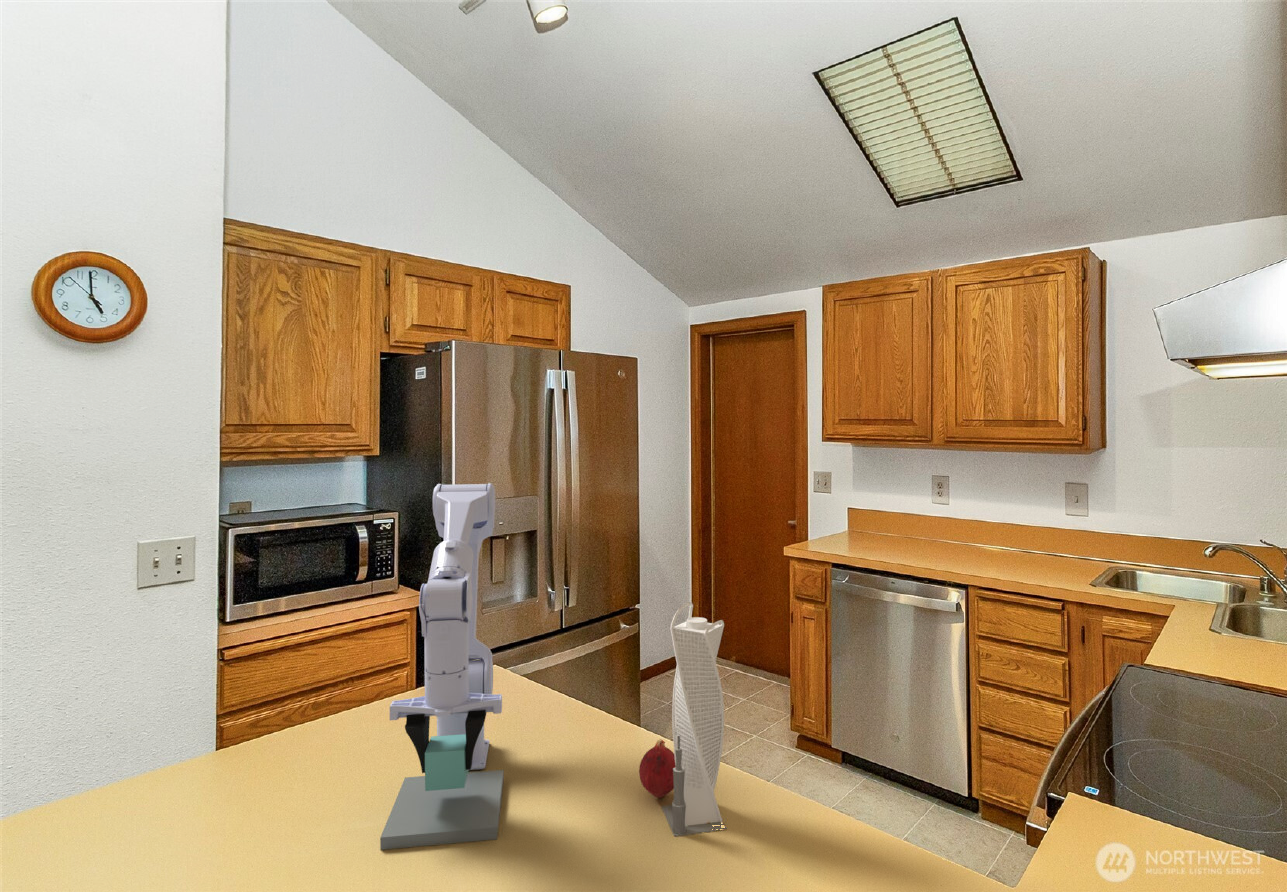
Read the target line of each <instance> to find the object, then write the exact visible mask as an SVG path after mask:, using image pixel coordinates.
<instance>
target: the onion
mask: <svg viewBox="0 0 1287 892" xmlns="http://www.w3.org/2000/svg"><path fill="white" fill-rule="evenodd" d="M665 744H666V742H665V741H664V740H663V739H661V738H660V739H659V740H656V743H655V745H654V746H653V747H651V748H650V749H648V751H646V753H645V754H644V755H643V757H642V759H641V761H640V762H639V763H640V764H639V766H638V767H639V768H638V773H639V780H640V782H641V785H642V787H643V788H644V789H645V790H646V791H647V792H648V793H649V794H651V795H652V796H654V797H656V798H658V799H663V798H664V797H665V796H667V795H669V794H670V793H671V792H672V791H674V781H673V768H675V767H676V764H675V755H674V751H672V749H670V748H668V747H667V746H665Z"/></svg>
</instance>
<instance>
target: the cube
mask: <svg viewBox="0 0 1287 892" xmlns="http://www.w3.org/2000/svg"><path fill="white" fill-rule="evenodd" d="M465 759H466V734H461V735H447V736H437V735H434V736H430V737H429V743H428V746H427V749H426V751H425V773H424V776H425V791H433V790H445V789H457V788H465V783H466V779H467V774H468V773H469V770H466V767H465Z"/></svg>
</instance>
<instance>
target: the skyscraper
mask: <svg viewBox="0 0 1287 892" xmlns="http://www.w3.org/2000/svg"><path fill="white" fill-rule="evenodd" d="M687 607H689V611H688V617H687V618H686V621H684V622H682V623H679V624H677V625H675V623H676V620H677V618H678V615H680V612H681V611H682V610H683V609H685V608H687ZM693 608H694V604H693V602H686V603H684V604H683V605H681V606H680V607H678V609H677V610H676V611H675V614H674V615H673V618H672V621H671V622H670V623H671V624H670V627H669V629H670V634H671V635H670V636H671V639H672V640H671V641H672V645H673V651H674V656H675V661H676V668H675V675H674V681H673V690H672V704H671V705H672V707H671V708H672V711H671V716H672V717H671V720H672V725H671V726H672V742H673V753H674V755H675V764H676V767H675V768H673V781H674V789H673V801H671V804H670V805H663V806H661V810H662V812H663V814H664V817H665V818H666V821H667V823H668V825H669V828H670V830H671V832H672V834H673V836H674V837H676V838H677V837H681V836H689V835H690V836H691V835H697V834H696V833H699V834H703V833H702V832H707V833H712V832H711V831H715V830H716V829H718V830H720V829H727V830H728V828H727V826H726V827H725V828H721V825H725V823H724V821H723V818H722V815H721V814H722V813H721V812H720V809H719V805H718V802H717V799H716V796H715V789H716V785H717V779H718V774H719V770H720V765H721V760H722V759H721V758H722V753H723V745H724V733H725V732H724V731H725V704H724V694H723V689H722V683H721V678H720V674H719V669H718V666H717V657H718V655H719V654H718V653H719V649H720V645H721V640H722V636H723V633H724V628H725V623H724V620H723V619H720V620H717V621H715V622H713V623H712V622H708V619H707V618H705V617H700V616H699V617H698V616H697V617H696V616H694V617H692V615H693V610H694V609H693ZM721 822H723V824H721ZM712 825H720V826H714V827H713V826H712ZM712 829H713V830H712ZM715 832H716V831H715Z"/></svg>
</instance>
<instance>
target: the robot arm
mask: <svg viewBox="0 0 1287 892" xmlns="http://www.w3.org/2000/svg"><path fill="white" fill-rule="evenodd" d="M432 513H433V514H432V515H433V518H434V521H435V527H436V528H435V529H436V530H437V533H438V536H439V537H441V538H443V541H441V542H440V543H439V544H438V545H437V546H436V547H435V548H434V550H433V555H432V558H431V565H430V569H429V575H428V580H427V583H422V584H421V586H420V591H419V596H418V597H419V599H418V610H419V616H420V622H421V637H423V638H424V642H423V643H424V695H423V696H417V697H411V698H406V699H398V700H392V702H391V703H390V705H389V721H398V720H399V719H402V718H404V719H405V718H406V721H405V725H404V730H405V733H406V734H407V735H408V738H410V740H411V742H412V744H413V746H414V748H415V750H416V754H417V756H418V760H419V762H420V763H419V764H420V768H421V773H422V774H425V751H426V749H427V746H428V743H429V741H430V721H431V720H430V719H431V717H433V716H435V717H436V736H447V735H461V734H466V759H465V767H466V770H468V771H473V770H483V769H486V765H487V759H488V752H489V747H490V739H485V722H486V717H487V713H493V714H494V715H496V714H502V712H503V711H502V710H503V694H501V693H500V694H499V693H498V694H494V693H493V691H494V690H493V689H494V663H493V653H492V652H493V651H491V648H489V646H487V645H486V644H485V643H483V642H482V641H480V640H479V639H477V621H478V619H477V617H478V616H477V615H478V590H479V587H478V586H479V585H478V584H479V560H480V551H481V550H482V549H481V547H482V544H483V541H484V540H485V539H488V537H491V536H493V533H494V531H493V530H494V529H495V517H496V516H495V515H496V488H495V485H494V484H493V483H492V482H488V483H478V484H477V483H476V484H475V483H474V484H473V483H472V484H471V483H470V484H469V483H468V484H467V483H466V484H465V483H464V484H463V483H462V484H442V483H438V484H436V486H435V487H434V488H433V491H432Z"/></svg>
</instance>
